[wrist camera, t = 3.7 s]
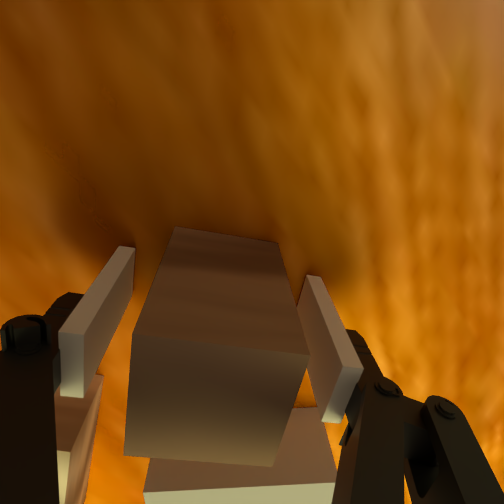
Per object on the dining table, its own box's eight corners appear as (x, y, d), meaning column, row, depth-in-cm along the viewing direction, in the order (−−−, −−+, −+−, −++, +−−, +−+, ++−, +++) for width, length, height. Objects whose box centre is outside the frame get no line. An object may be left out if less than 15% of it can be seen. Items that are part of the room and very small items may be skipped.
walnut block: (175, 226, 17) (132, 333, 9) (277, 242, 17) (310, 355, 10) (165, 312, 19) (123, 455, 12) (257, 324, 19) (271, 467, 12)
